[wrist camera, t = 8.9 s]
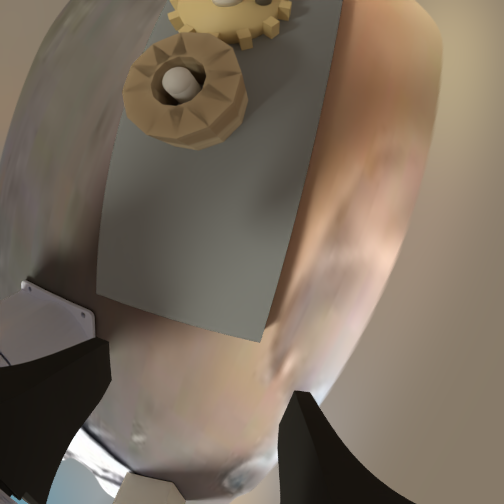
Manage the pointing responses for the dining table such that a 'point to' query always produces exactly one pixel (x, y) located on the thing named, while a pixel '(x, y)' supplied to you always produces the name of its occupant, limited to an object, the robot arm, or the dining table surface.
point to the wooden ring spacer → (201, 106)
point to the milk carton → (147, 491)
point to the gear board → (220, 173)
